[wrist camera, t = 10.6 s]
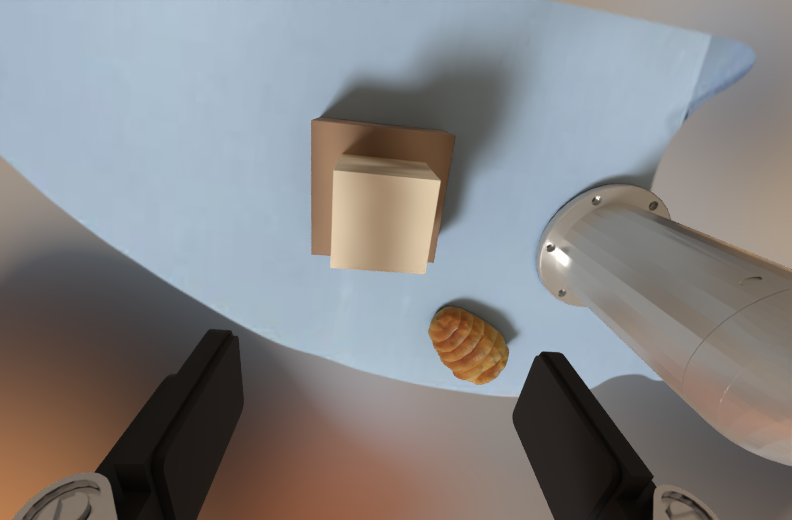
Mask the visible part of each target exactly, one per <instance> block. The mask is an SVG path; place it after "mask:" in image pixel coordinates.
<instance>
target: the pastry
mask: <svg viewBox="0 0 792 520" xmlns="http://www.w3.org/2000/svg"><path fill="white" fill-rule="evenodd" d="M428 334H429V336H430V338H431V339H432V342H433V346H434V348H435V349H436V351H437V352H438V355H439V356H440V359H441V361H442V362H443V364H444V365H446V366H447V367H448V368H450V369H451V370H452V371H453V374H454V376H456V377H457V378H459V379H462V380H467V381H469V382H473V383H475V384H476V385H482V384H485V383H488V382H490V381H492V380H493V379H495V378H496V377H497V376H498V375H499V373H500V372H501V371H502V370H503V369H504V368H505V366H506V363H507V360H508V355H509V349H508V347H507V346H506V344H505V340H504V338H503V335H502V334H501V333H500V332H498V331H497V330H496V329H495V328H494V327H493V326H491V325H490V324H488V323H487V322H485V321H484V320H482V319H481V318H479V317H477V316H475V315H473V314H471V313H469V312H468V311H466V310H464V309H462V308H456V307H452V306H449V307H445V308H443V309H442V310H440V311H439V312H437V313H436V314H435V315H434V317H433V319H432V321H431V324H430V327H429V331H428Z"/></svg>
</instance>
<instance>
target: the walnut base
mask: <svg viewBox="0 0 792 520" xmlns="http://www.w3.org/2000/svg"><path fill="white" fill-rule="evenodd" d="M454 142H455V136H454V135H452V134H450V133H448V132H445V131H439V130H430V129H421V128H412V127H403V126H394V125H385V124H376V123H367V122H358V121H349V120H340V119H331V118H322V117H319V118H316V119H313V120H311V222H312V254H313V255H328V256H331V235H332V201H333V170H334V168H335V166H336V164H337V162H338V160H339V159H340V157H341V155H342V154H348V155H358V156H368V157H377V158H387V159H397V160H406V161H416V162H425V163H426V164H427V165H428V166H429V167H430V169H431V170H432V171H433V172H434V173H435V175H436V176H437V177H438V178H439V179H440V180H441V182H440V188H439V194H438V200H437V206H436V212H435V218H434V224H433V230H432V236H431V242H430V248H429V254H428V260H427V262H432V263H434V258H435V252H436V246H437V240H438V234H439V229H440V223H441V217H442V211H443V205H444V200H445V194H446V188H447V182H448V176H449V171H450V165H451V159H452V153H453V148H454Z"/></svg>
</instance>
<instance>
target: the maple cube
mask: <svg viewBox="0 0 792 520" xmlns="http://www.w3.org/2000/svg"><path fill="white" fill-rule="evenodd" d="M440 182H441V180H440V179H439V178H438V177H437V176H436V175H435V173H434V172H433V171H432V170H431V169H430V167H429V166H428V165H427V164H426V163H425V162H416V161H406V160H397V159H387V158H377V157H368V156H358V155H348V154H342V155H341V157H340V159H339V160H338V162H337V164H336V166H335V168H334V170H333V201H332V235H331V268H341V269H356V270H371V271H386V272H401V273H416V274H425V272H426V266H427V260H428V254H429V248H430V242H431V236H432V230H433V224H434V218H435V212H436V206H437V200H438V194H439V188H440Z"/></svg>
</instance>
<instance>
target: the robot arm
mask: <svg viewBox="0 0 792 520" xmlns="http://www.w3.org/2000/svg"><path fill="white" fill-rule="evenodd" d="M536 269H537V272H538V276H539V279H540V280H541V282H542V284H543V286H544V287H545V288H546V289H547V290H548V291H549V292H550V294H551V295H553V296H554V297H555V298H556V299H558V300H560V301H562V302H564V303H566V304H569V305H573V306H579V307H588V308H589V309H590V310H591V311H592V312H593V313H594V314H595V315H596V316H597V317H598V318H599V319H600V320H602V321H603V322H604V323H605V324H606V325H607V326H608V327H609V328H610V329H611V330H612V331H613V332H614V333H615V334H616V335H617V336H618V337H619V338H620V339H621V340H622V341H623V342H624V343H625V344H626V345H627V346H628V347H629V348H631V349H632V350H633V351H634V352H635V353H636V354H637V355H638V356H639V357H640V358H641V359H642V360H643V361H644V362H645V363H646V364H647V365H648V366H649V367H650V368H651V369H652V370H653V371H654V372H655V373H656V374H657V375H659V376H660V377H661V378H662V379H663V380H664V381H665V382H666V383H667V384H668V385H669V386H670V387H671V388H672V389H673V390H674V391H675V392H676V393H677V394H678V395H679V396H680V397H681V398H682V399H684V400H685V401H686V402H687V403H688V404H689V405H690V406H691V407H692V408H693V409H694V410H695V411H696V412H697V413H698V414H700V415H701V416H702V417H703V418H704V419H705V420H706V421H707V422H708V423H709V424H710V425H711V426H713V427H714V428H715V429H716V430H717V431H718V432H720V433H721V434H723V435H724V436H725V437H727V438H728V439H729V440H731V441H732V442H734V443H736V444H737V445H739V446H741V447H743V448H744V449H746V450H748V451H750V452H753V453H755V454H757V455H759V456H762V457H764V458H767V459H770V460H773V461H776V462H779V463H782V464H785V465H790V466H792V269H790V268H787V267H785V266H782V265H780V264H778V263H775V262H772V261H770V260H768V259H765V258H763V257H760V256H758V255H755V254H753V253H750V252H748V251H746V250H743V249H740V248H738V247H736V246H733V245H731V244H728V243H726V242H723V241H721V240H718V239H716V238H714V237H711V236H709V235H706V234H704V233H701V232H699V231H696V230H694V229H691V228H689V227H686V226H684V225H682V224H679V223H676V222H674V221H672V220H671V218H670V215H669V212H668V209H667V208H666V206H665V205H664V203H663V202H662V200H661V199H660V198H658V197H657V196H656V195H655V194H654V193H652V192H650V191H648V190H646V189H643V188H640V187H637V186H634V185H628V184H610V185H604V186H601V187H597V188H594V189H591V190H589V191H587V192H585V193H583V194H580V195H579V196H577V197H576V198H574V199H573V200H571V201H570V202H568V203H567V204H566V205H565V206H564V207H563V208H562V209H561V210H559V211H558V212H557V213H556V215H555V216H554V217H553V218H552V220H551V221H550V222H549V223H548V225H547V227H546V229H545V230H544V232H543V234H542V236H541V239H540V241H539V244H538V247H537V254H536ZM243 404H244V397H243V386H242V374H241V363H240V350H239V339H238V336H233V334H232V332H231V331H230V330H216V329H210V330H208V331H207V333H206V334H205V335H204V337H203V338H202V340H201V341H200V342H199V344H198V345H197V346H196V348H195V349H194V351H193V352H192V354H191V355H190V356H189V358H188V359H187V360H186V362H185V363H184V365H183V366H182V367H181V369H180V370H179V372H178V373H177V374H171V375H169V376H167V377H166V378H165V379H164V380H163V382H162V383H161V384H160V385H159V387H158V388H157V389H156V391H155V392H154V393H153V395H152V396H151V398H150V399H149V400H148V401H147V403H146V404H145V405H144V407H143V408H142V409H141V411H140V412H139V413H138V415H137V416H136V418H135V419H134V420H133V421H132V423H131V424H130V425H129V427H128V428H127V429H126V431H125V432H124V433H123V435H122V436H121V437H120V439H119V440H118V441H117V443H116V444H115V445H114V447H113V448H112V450H111V451H110V452H109V454H108V455H107V456H106V457H105V459H104V460H103V461H102V463H101V464H100V465H99V467H98V468H97V470H96V471H95V472H94V473H92V472H86V473H79V474H75V475H71V476H69V477H66V478H63V479H61V480H58V481H57V482H55V483H53V484H51V485H49V486H48V487H46V488H44V489H43V490H41V491H40V492H39V493H38V494H36V495H35V496H34V497H32V498H31V499H30V500H29V501H28V502H27V503H26V504H25V505H24V506H23V507H22V508H21V509H20V510H19V511H18V512H17V514H16V515H15V517H14V518H13V520H196V519H197V517H198V515H199V512H200V510H201V507H202V505H203V503H204V500H205V498H206V495H207V493H208V491H209V489H210V486H211V484H212V481H213V479H214V477H215V474H216V472H217V470H218V467H219V465H220V463H221V460H222V458H223V455H224V453H225V450H226V448H227V446H228V444H229V441H230V439H231V436H232V434H233V432H234V429H235V427H236V424H237V422H238V420H239V418H240V415H241V413H242V409H243ZM513 423H514V426H515V429H516V431H517V433H518V436H519V438H520V440H521V443H522V445H523V447H524V450H525V452H526V454H527V457H528V459H529V461H530V463H531V466H532V468H533V471H534V473H535V475H536V478H537V480H538V482H539V484H540V487H541V489H542V491H543V494H544V496H545V499H546V500H547V503H548V506H549V508H550V510H551V513H552V515H553V517H554V519H555V520H719V518H718V517H717V516H716V515H715V514H714V513H713V512H712V511H711V509H709V508H708V507H707V506H706V505H705V504H704V503H703V502H701V501H700V500H699V499H698V498H696V497H695V496H693V495H691V494H690V493H689V492H687V491H684V490H683V489H680V488H678V487H675V486H671V485H660V486H659V487H656V486H655V484H654V483H653V482H652V479H653V477H654V476H653V475H652V473H651V472H650V471H649V469H648V468H647V467H646V465H645V464H644V463H643V461H642V460H641V459H640V457H639V456H638V455H637V453H636V452H635V451H634V449H633V448H632V446H631V445H630V444H629V442H628V441H627V440H626V438H625V437H624V436H623V434H622V433H621V432H620V430H619V429H618V428H617V426H616V425H615V424H614V422H613V421H612V420H611V418H610V417H609V415H608V414H607V413H606V411H605V410H604V409H603V407H602V406H601V405H600V403H599V402H598V401H597V400H596V398H595V397H594V395H593V394H592V392H591V391H590V390H589V388H588V387H587V386H586V384H585V383H584V382H583V380H582V379H581V378H580V376H579V375H578V374H577V372H576V371H575V370H574V368H573V367H572V365H571V364H570V363H569V361H568V360H567V359H566V357H565V356H564V355H563V354H562V353H559V352H541V353H540V355H539V356H536V357H535V359H534V361H533V363H532V366H531V368H530V371H529V374H528V376H527V379H526V381H525V384H524V386H523V389H522V391H521V394H520V396H519V399H518V401H517V404H516V406H515V409H514V412H513Z"/></svg>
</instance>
